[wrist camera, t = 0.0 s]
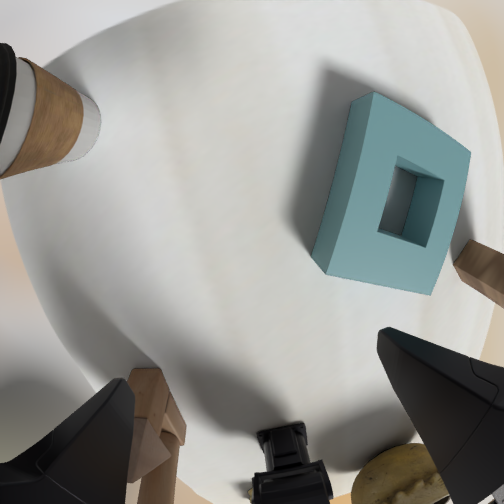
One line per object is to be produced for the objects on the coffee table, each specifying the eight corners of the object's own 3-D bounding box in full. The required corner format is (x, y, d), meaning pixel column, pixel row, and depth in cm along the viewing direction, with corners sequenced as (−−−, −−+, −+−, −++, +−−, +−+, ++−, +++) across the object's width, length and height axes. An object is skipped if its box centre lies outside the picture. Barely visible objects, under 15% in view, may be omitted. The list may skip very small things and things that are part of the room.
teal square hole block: (408, 279, 24) (430, 295, 21) (310, 256, 23) (325, 274, 19) (444, 151, 21) (471, 152, 17) (351, 101, 19) (373, 91, 15)
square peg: (461, 280, 25) (515, 317, 16) (452, 264, 25) (512, 300, 15) (478, 256, 25) (533, 286, 15) (470, 239, 24) (530, 267, 14)
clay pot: (342, 448, 34) (375, 542, 15) (442, 406, 34) (489, 475, 15) (331, 486, 40) (350, 552, 21) (412, 455, 41) (441, 511, 22)
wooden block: (161, 366, 25) (124, 523, 8) (187, 424, 29) (177, 547, 12) (131, 367, 25) (81, 510, 8) (161, 424, 29) (142, 541, 12)
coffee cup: (85, 191, 20) (-54, 236, 5) (30, 152, 18) (-91, 166, 3) (132, 104, 18) (7, 40, 4) (70, 73, 16) (-43, 28, 2)
